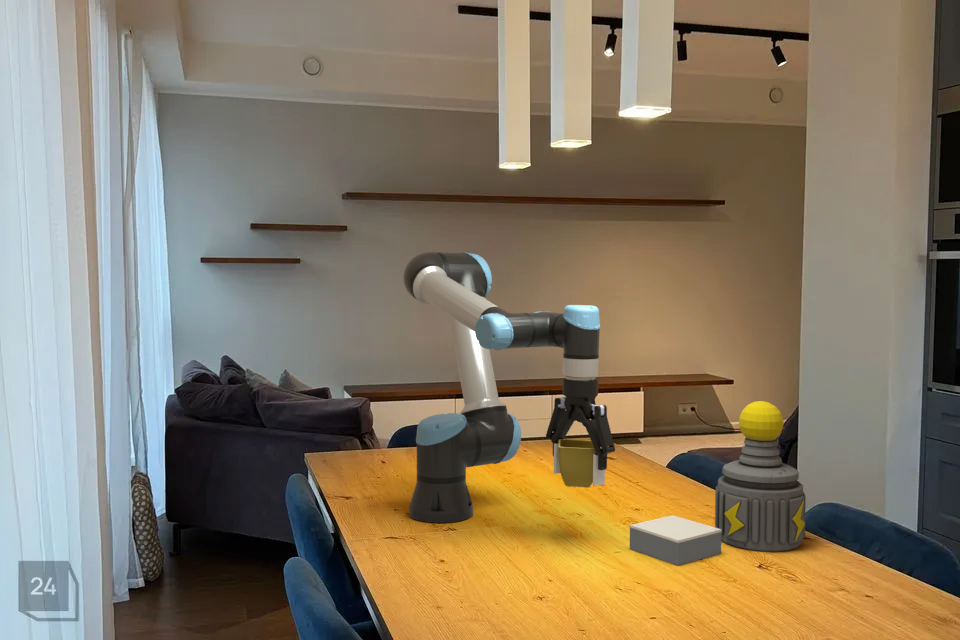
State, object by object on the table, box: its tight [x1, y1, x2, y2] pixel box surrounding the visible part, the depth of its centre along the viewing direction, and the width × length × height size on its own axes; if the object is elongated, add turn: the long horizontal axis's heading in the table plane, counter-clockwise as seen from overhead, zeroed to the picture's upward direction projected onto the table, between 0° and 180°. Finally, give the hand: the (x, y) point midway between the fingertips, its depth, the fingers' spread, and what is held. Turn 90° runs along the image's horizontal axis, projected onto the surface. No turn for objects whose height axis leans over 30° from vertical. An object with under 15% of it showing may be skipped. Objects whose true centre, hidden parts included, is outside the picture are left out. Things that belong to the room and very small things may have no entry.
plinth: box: [629, 515, 722, 566], centre depth 177 cm, size 13×13×5 cm
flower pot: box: [558, 438, 596, 489], centre depth 184 cm, size 9×9×9 cm
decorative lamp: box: [714, 400, 807, 553], centre depth 185 cm, size 19×19×30 cm
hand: (578, 478), depth 184 cm, fingers closed on flower pot, 12 cm apart
